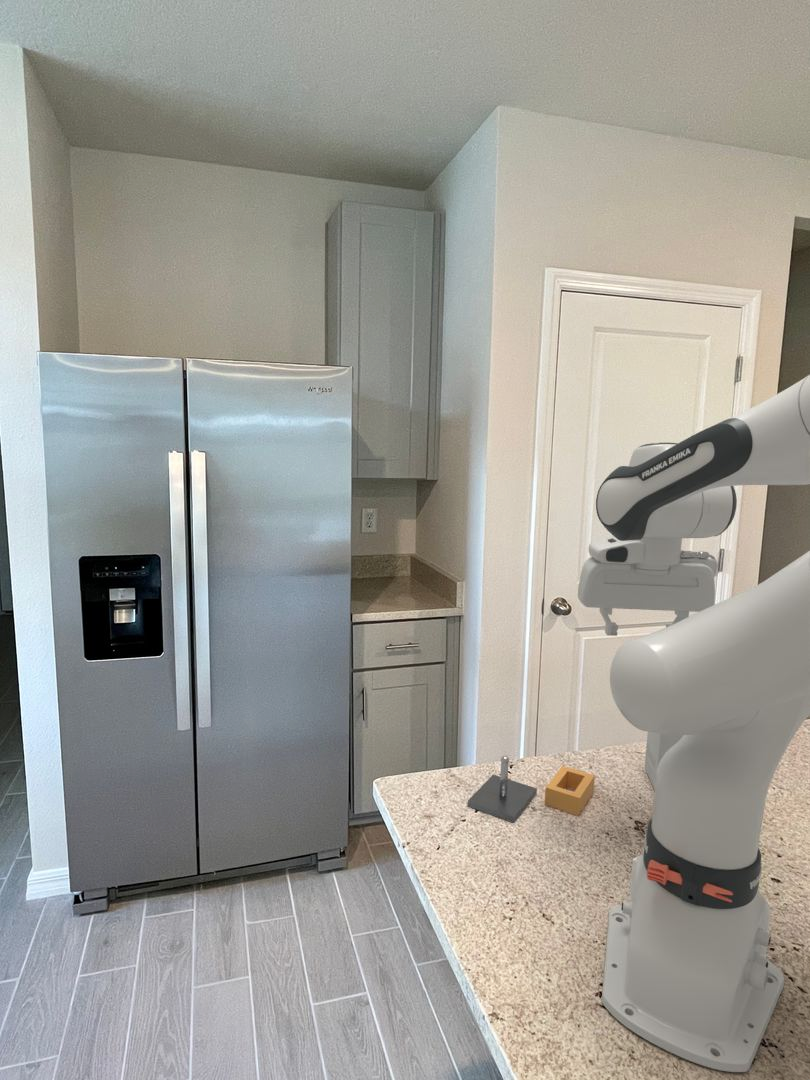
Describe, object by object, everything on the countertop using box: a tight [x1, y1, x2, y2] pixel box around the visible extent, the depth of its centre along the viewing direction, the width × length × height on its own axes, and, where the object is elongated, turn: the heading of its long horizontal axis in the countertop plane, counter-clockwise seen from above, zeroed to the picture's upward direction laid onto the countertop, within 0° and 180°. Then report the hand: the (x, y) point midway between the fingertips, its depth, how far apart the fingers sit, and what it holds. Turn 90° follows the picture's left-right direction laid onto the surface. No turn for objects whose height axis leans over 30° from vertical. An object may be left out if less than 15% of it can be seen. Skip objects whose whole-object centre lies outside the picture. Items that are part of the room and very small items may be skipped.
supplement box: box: [644, 732, 684, 791], centre depth 112 cm, size 9×9×15 cm
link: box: [544, 765, 596, 816], centre depth 107 cm, size 9×6×3 cm, turn 148°
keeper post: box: [467, 755, 538, 823], centre depth 105 cm, size 10×8×8 cm
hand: (641, 635), depth 101 cm, fingers open, 8 cm apart
